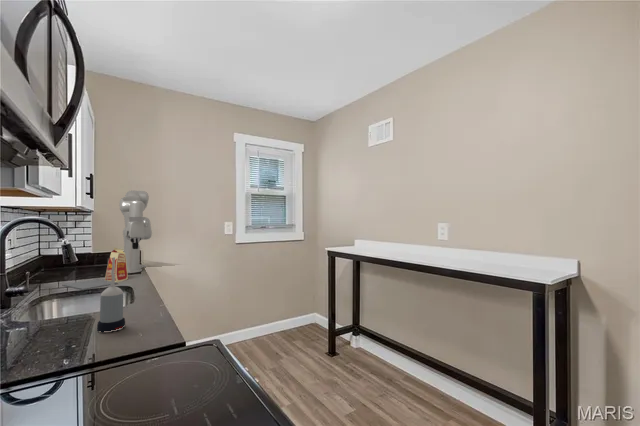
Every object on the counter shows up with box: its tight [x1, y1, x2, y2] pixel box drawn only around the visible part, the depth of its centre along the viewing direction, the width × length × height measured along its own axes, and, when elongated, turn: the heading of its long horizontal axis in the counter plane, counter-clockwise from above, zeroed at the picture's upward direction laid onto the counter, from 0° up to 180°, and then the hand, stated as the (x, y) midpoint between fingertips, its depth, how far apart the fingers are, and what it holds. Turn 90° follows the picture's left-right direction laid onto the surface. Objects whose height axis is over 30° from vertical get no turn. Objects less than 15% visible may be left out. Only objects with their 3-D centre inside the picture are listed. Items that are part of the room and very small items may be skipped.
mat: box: [62, 278, 119, 291], centre depth 177 cm, size 18×20×1 cm
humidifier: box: [96, 257, 126, 332], centre depth 110 cm, size 8×8×25 cm
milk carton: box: [104, 247, 129, 283], centre depth 190 cm, size 9×9×20 cm
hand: (135, 248), depth 199 cm, fingers closed
